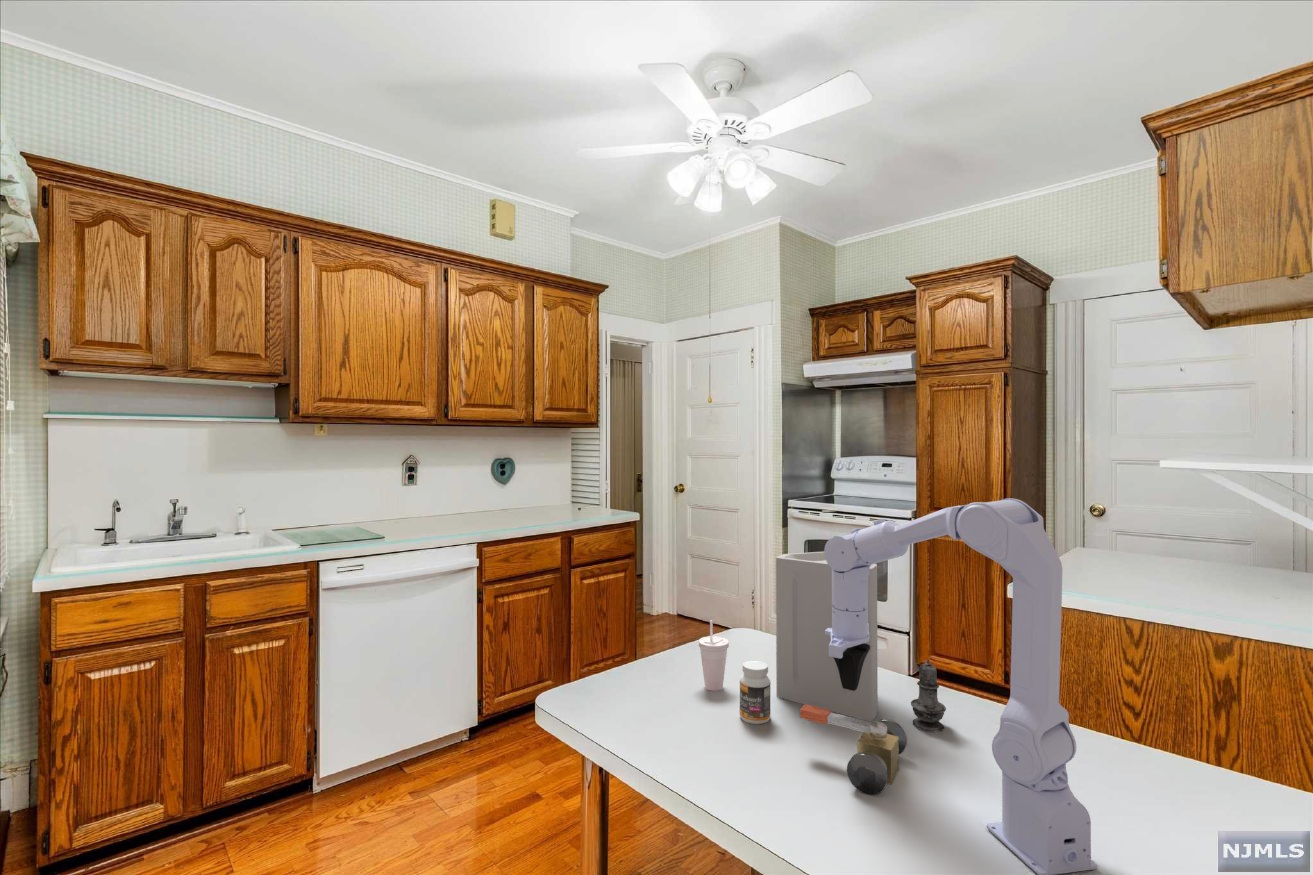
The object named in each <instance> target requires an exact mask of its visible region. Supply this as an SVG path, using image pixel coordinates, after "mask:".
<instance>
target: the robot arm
mask: <svg viewBox="0 0 1313 875" xmlns="http://www.w3.org/2000/svg"><path fill="white" fill-rule="evenodd" d="M872 523H873V525H871V526H868V527H865V528H862V529H861V528H859V527H856V528H853V529H851V530H850V531H851V533H849V534H845V535H837V534H836V535H834V536H833V537H831V538H829V539H828V540H827V541H826V543H825V545H824V549H823V552H824V555H825V559H826V561H827V563H828V565H829V566H830V567H831V568H832V628H827V629H826V630H825V634H826V635H830V636H831V642H830V644H829V656H830V657H833V658H834V660H835V662H836V665H837V668H838V671H839V675H840V679H841V684H842V687H843V689H848V690H852V691H855V690H856V689H857V687H858V684H859V680H860V675H861V670H862V666H863V663H864V660H865V658H866V656H867V654H868V652H869V650H870V645H869V644H865V643H866V642H868V641H869V623H868V576H869V570H870V566H871V565H872V564H878V563H882V562H885V561H888V560H889V561H890V560H892V559H895V558H899V557H903V556H904V555H905V554H906V553H907V552H908V549H909V546H910V545H912V544H913V545H914V544H916V543H917V544H918V543H920V542H924V541H927V540H932V539H935V538H939V537H944V536H949V537H950V538H951V539H953V540H956V541H957V540H961V541H963V543H964V544H966V545H967V546H968V547H969V548H971V549H972V550H974V551H976V552H978V553H980V554H981V555H983V556H985V557H986V558H988V559H991V560H992V561H993V562H996V563H997V564H998V565H1000V567H1002V568H1003V569H1004V570H1005V571H1006V572H1007V573H1008V574H1009V575H1010V576H1011V577H1012V603H1011V604H1012V608H1011V609H1012V610H1011V611H1012V612H1011V613H1012V614H1011V645H1010V647H1011V651H1010V652H1011V654H1010V685H1009V686H1010V689H1009V690H1010V693H1009V694H1010V695H1009V699H1008V701H1007V703H1006V705H1005V707H1004V709H1003V711H1002V714H1001V715H1000V722H999V729H998V732H997V733H996V734H995V736H994V737H993V739H992V742H991V751H992V755H993V758H994V761H995V762H996V764H997V766H998V767H999V769H1000V770H1001V776H1002V777H1001V782H1002V783H1001V784H1002V785H1001V790H1002V791H1001V798H1002V799H1001V803H1002V804H1001V806H1002V808H1001V812H1002V814H1001V816H1002V817H1001V818H1002V819H1001V821H997V822H989V823H986V828H987V830H988V831H989V832H990V833H991V834H993V835H994V836H995V837H996V838H997V839H998V840H999V841H1001V842H1002V844H1004V845H1005V846H1006V847H1007V848H1008V849H1009V850H1010V851H1012V852H1013V853H1014V855H1016V856H1017V857H1018V858H1019V859H1020V860H1021V861H1022V862H1024V864H1026V865H1027V866H1028V867H1029V868H1030V869H1031V870H1032V871H1034V872H1035V873H1036V874H1037V875H1060V874H1061V875H1062V874H1070V873H1075V872H1076V873H1077V872H1084V871H1091V870H1097V869H1098V868H1097V867H1098V865H1097V863H1096V862H1095V861H1093V860H1092V847H1091V846H1092V843H1091V841H1092V836H1091V835H1092V833H1091V832H1092V826H1091V825H1092V822H1091V817H1090V813H1089V811H1088V810H1087V808H1086V806H1084V805H1083V803H1081V802H1080V801H1079V800H1078V799H1077V797H1076V796H1075V795H1074V793H1073V792H1072V790H1071V787H1070V784H1069V778H1068V777H1069V775H1068V772H1067V763H1069V762H1070V761H1072V760H1073V758H1074V757H1075V755H1076V752H1077V742H1076V739H1075V736H1074V734H1073V731H1072V729H1071V727H1070V723H1069V721H1070V720H1069V718H1070V717H1069V716H1070V715H1069V714H1070V713H1069V711H1068V710H1067V709H1066V708H1065V707H1063V705H1061V703H1060V680H1061V679H1060V676H1061V675H1060V673H1061V641H1062V640H1061V638H1062V636H1061V635H1062V607H1063V606H1062V604H1063V602H1062V600H1063V596H1062V595H1063V565H1062V564H1063V562H1062V561H1061V559H1060V557H1059V555H1058V553H1057V552H1056V549H1055V547H1054V546H1053V543H1052V542H1051V540H1050V538H1049V536H1048V534H1047V532H1046V530H1045V529H1044V528H1045V527H1044V526H1045V525H1044V518H1043V516H1042V515H1041V514H1039V513H1038V512H1037V511H1036V510H1035V509H1034V508H1032V506H1030V505H1029V504H1027V503H1026V502H1025V501H1023V500H1020V499H1017V498H1010V497H1008V498H1004V499H1000V500H994V501H987V502H983V501H982V502H981V501H979V502H970V503H969V504H964V505H957V506H956V505H955V506H949V507H945V508H942V509H940V510H939V509H938V510H937V511H935V512H931V513H929V514H926V515H924V516H921V517H919V518H916V519H913V520H910V521H908V522H905V523H903V524H900V523H898V522H896V521H895V520H892V519H891V520H886V519H885V518H880V519H876V520H874V521H873V522H872Z"/></svg>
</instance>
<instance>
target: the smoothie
mask: <svg viewBox="0 0 1313 875" xmlns="http://www.w3.org/2000/svg"><path fill="white" fill-rule="evenodd" d="M713 629H714V628H713V620H712V619H711V620H709V636H703V637H700V638H699V640H698V648H700V657H701V658H700V659H701V664H702V665H701V666H702V672H703V681H704V688H705V689H706V690H708V691H714V692H716V691H721V690H723V688H724V681H725V680H724V679H725V670H726V663H727V662H726V661H727V654H728V648H730V645H729V644H730V643H729V642H730V641H729V640H728V639H727V638H726V637H725V638H724V637H723V636H715V635H713V634H714V633H713Z"/></svg>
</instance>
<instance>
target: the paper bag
mask: <svg viewBox="0 0 1313 875" xmlns="http://www.w3.org/2000/svg"><path fill="white" fill-rule="evenodd" d="M775 608H776V609H775V612H776V614H775V617H776V618H775V628H776V629H775V631H776V632H775V633H776V634H775V635H776V636H775V637H776V638H775V643H776V644H775V648H776V649H775V651H776V652H775V653H776V654H775V657H776V666H775V668H776V670H775V671H776V676H775V677H776V680H775V681H776V697H777V698H780V697H781V698H780V699H783V698H784V700H787V699H789V700H788V701H791V702H795V703H799V704H803V705H805V704H807V705H811V706H815V707H819V708H823V709H827V710H831V712H832V713H835V714H839V715H843V716H847V717H851V718H855V719H859V720H863V721H867V722H872V721H873V720H874V719H875V718H876V716H877V715H878V713H879V710H878V709H879V708H878V706H879V705H878V699H879V698H878V696H879V695H878V690H879V689H878V687H879V686H878V678H879V677H878V563H875V564H872V565H871V566H870V570H869V576H868V623H869V641H868V642H866V643H865V644H869V645H870V650H869V652H868V654H867V656H866V658H865V660H864V663H863V666H862V670H861V675H860V680H859V684H858V687H857V689H856V690H855V691H852V690H848V689H843V687H842V684H841V679H840V675H839V671H838V668H837V665H836V662H835V660H834V658H833V657H830V656H829V644H830V642H831V636H830V635H826V634H825V630H826V629H827V628H832V568H831V567H830V566H829V565H828V563H827V561H826V559H825V555H824V551H813V552H811V551H810V552H796V553H795V552H794V553H783V554H780V555H777V556H776V557H775Z"/></svg>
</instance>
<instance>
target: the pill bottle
mask: <svg viewBox="0 0 1313 875" xmlns="http://www.w3.org/2000/svg"><path fill="white" fill-rule="evenodd" d="M742 673H743V674H741V675H740V679H739V718H740V719H741V720H742V721H744V722H746V723H748V724H753V725H762V724H765V723H767V722H768V721H769V720H770V719H771V679H770V677H769V676H768V673H769V665H768V664H767V663H766V662H764V661H760V660H747V661H745V662H743V663H742Z"/></svg>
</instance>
